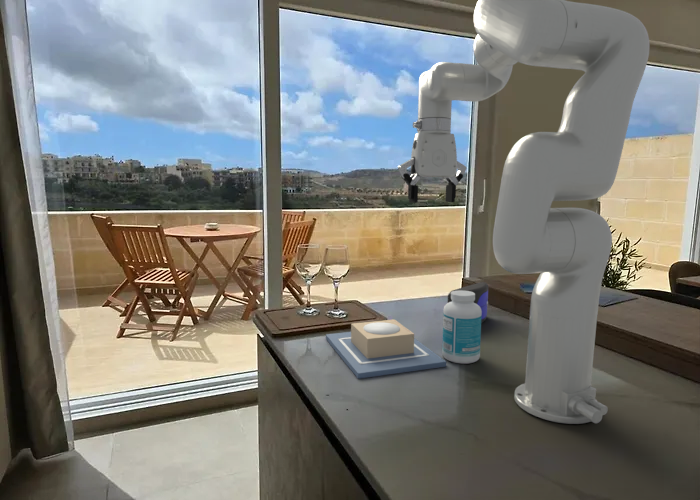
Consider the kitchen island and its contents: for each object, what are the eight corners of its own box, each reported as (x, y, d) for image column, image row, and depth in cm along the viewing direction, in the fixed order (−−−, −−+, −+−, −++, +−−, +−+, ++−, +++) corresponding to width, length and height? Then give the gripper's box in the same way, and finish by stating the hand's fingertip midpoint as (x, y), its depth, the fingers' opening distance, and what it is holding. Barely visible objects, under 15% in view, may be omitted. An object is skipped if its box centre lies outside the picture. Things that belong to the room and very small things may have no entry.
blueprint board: (446, 366, 91) (447, 341, 90) (358, 378, 85) (358, 351, 84) (399, 330, 111) (399, 310, 110) (325, 338, 106) (325, 316, 105)
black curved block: (461, 333, 110) (462, 294, 108) (444, 328, 113) (446, 290, 112) (496, 319, 121) (498, 283, 120) (480, 315, 124) (482, 280, 123)
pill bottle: (484, 355, 96) (487, 291, 94) (473, 368, 90) (476, 299, 88) (449, 348, 100) (451, 286, 98) (436, 359, 94) (438, 294, 92)
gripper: (406, 124, 102) (405, 203, 105) (475, 127, 108) (472, 202, 110) (393, 128, 109) (391, 201, 112) (458, 130, 115) (455, 201, 117)
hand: (431, 202), depth 111 cm, fingers open, 9 cm apart
